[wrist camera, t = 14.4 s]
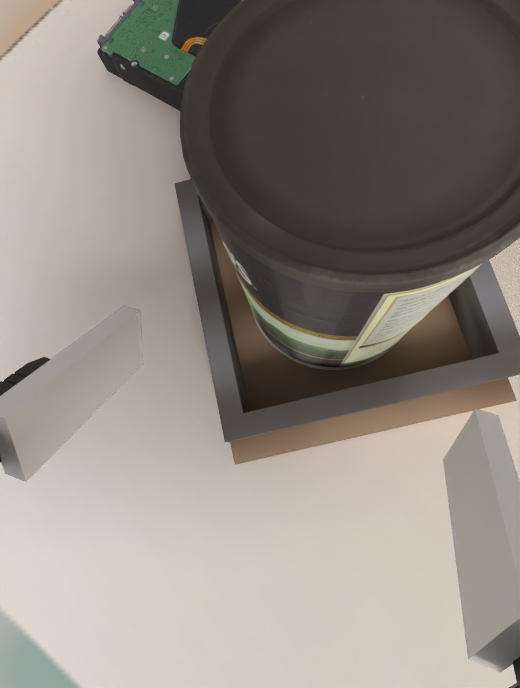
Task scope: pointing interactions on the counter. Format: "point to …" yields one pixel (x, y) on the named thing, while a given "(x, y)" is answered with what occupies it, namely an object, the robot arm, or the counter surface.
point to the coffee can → (356, 161)
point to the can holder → (351, 384)
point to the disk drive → (160, 43)
